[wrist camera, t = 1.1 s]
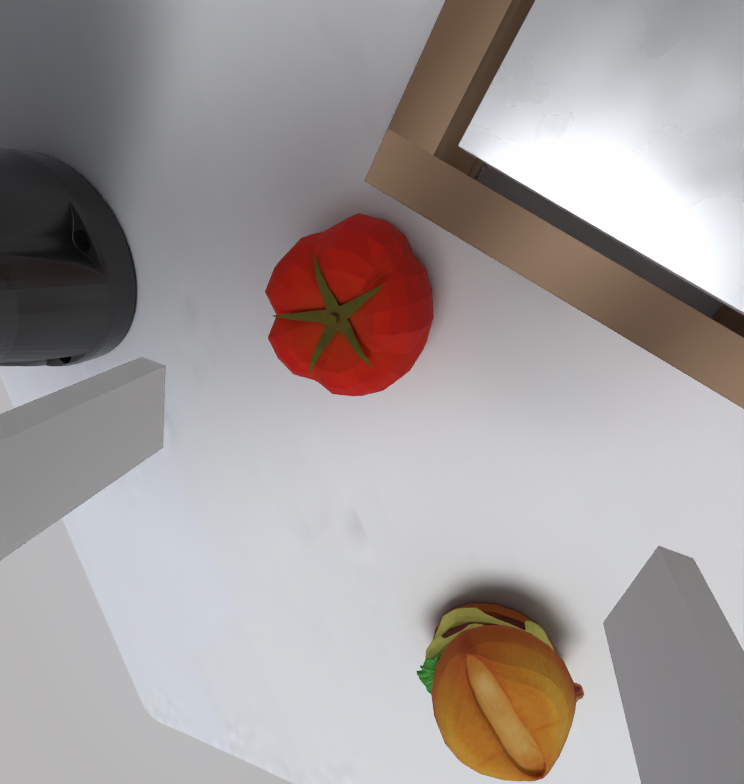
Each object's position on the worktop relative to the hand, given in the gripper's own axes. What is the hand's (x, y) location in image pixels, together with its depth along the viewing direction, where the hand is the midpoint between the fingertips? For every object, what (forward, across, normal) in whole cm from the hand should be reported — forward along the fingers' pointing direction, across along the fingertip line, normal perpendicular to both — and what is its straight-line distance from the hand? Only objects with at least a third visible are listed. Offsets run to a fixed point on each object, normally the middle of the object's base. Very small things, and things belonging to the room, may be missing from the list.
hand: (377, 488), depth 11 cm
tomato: (+17, -5, +1) cm, 18 cm away
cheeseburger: (+17, +11, -22) cm, 30 cm away
